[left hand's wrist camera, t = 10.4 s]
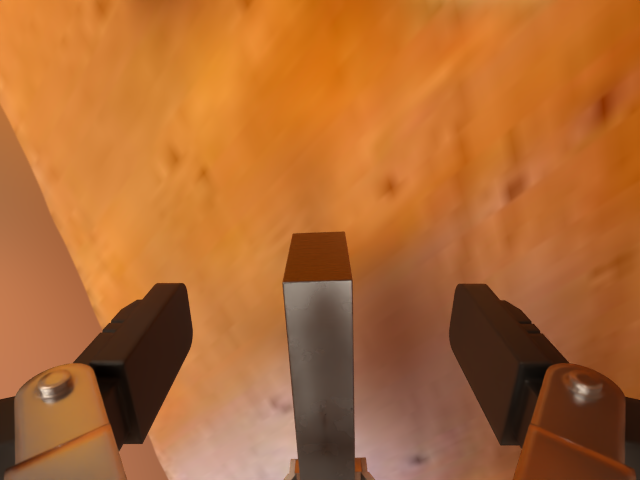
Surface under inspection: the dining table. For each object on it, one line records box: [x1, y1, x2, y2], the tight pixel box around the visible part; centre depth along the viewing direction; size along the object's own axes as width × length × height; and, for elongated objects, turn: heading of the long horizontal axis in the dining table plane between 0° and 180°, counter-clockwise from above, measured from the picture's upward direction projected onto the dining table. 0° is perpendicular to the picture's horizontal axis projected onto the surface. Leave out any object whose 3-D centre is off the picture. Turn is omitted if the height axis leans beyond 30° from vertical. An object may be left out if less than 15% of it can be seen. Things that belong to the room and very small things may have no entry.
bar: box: [282, 232, 355, 480], centre depth 35 cm, size 27×5×9 cm, turn 2°
